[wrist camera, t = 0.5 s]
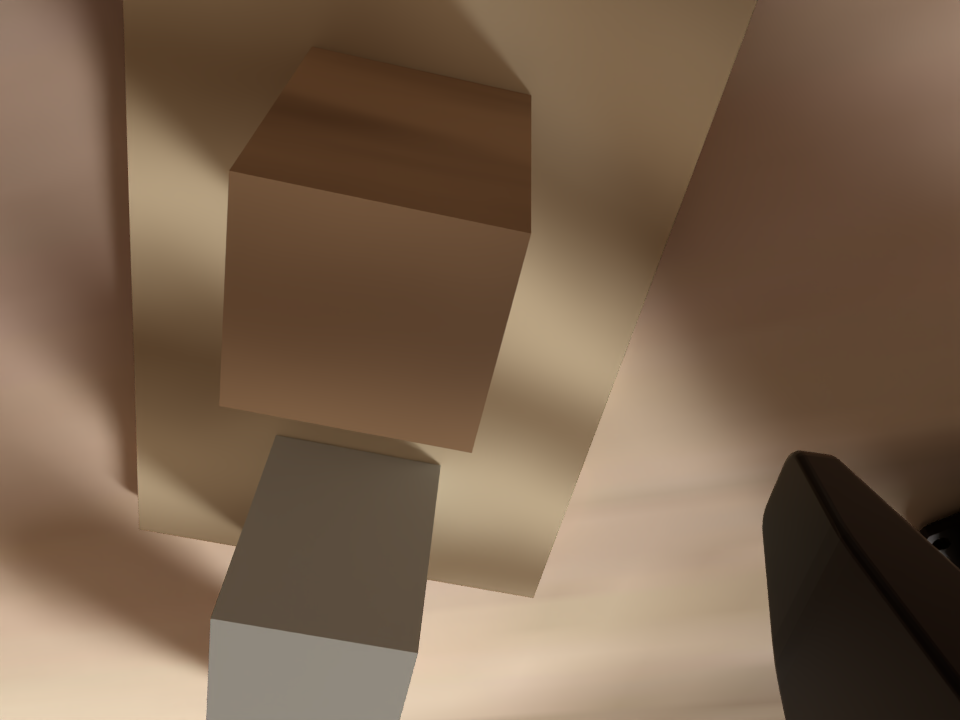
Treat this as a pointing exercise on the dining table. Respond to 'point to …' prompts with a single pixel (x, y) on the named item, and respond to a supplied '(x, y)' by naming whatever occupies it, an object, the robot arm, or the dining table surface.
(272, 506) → the slate block
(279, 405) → the walnut block
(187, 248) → the board
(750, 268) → the dining table surface
